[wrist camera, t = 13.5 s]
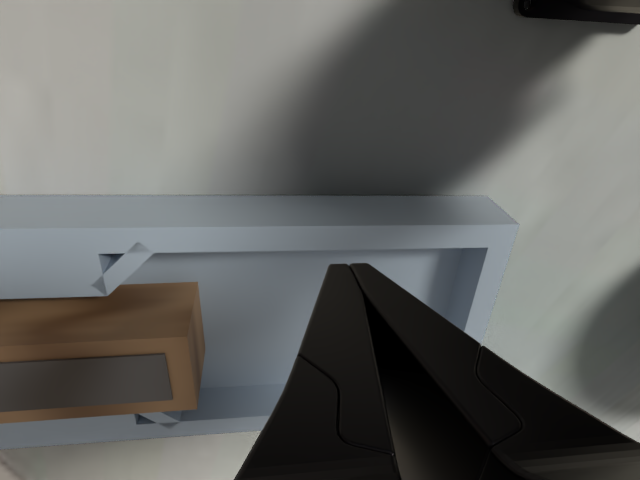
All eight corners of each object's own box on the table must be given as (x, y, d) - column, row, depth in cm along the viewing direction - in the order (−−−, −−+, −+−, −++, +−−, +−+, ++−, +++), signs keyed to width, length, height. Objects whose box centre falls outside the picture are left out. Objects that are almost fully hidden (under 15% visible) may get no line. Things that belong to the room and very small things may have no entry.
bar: (197, 281, 22) (186, 338, 18) (205, 348, 24) (196, 410, 20) (-22, 289, 20) (-80, 352, 17) (7, 360, 23) (-38, 428, 19)
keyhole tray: (487, 195, 23) (519, 224, 20) (439, 375, 29) (458, 416, 26) (-73, 195, 19) (-128, 230, 16) (13, 400, 25) (-16, 450, 23)
